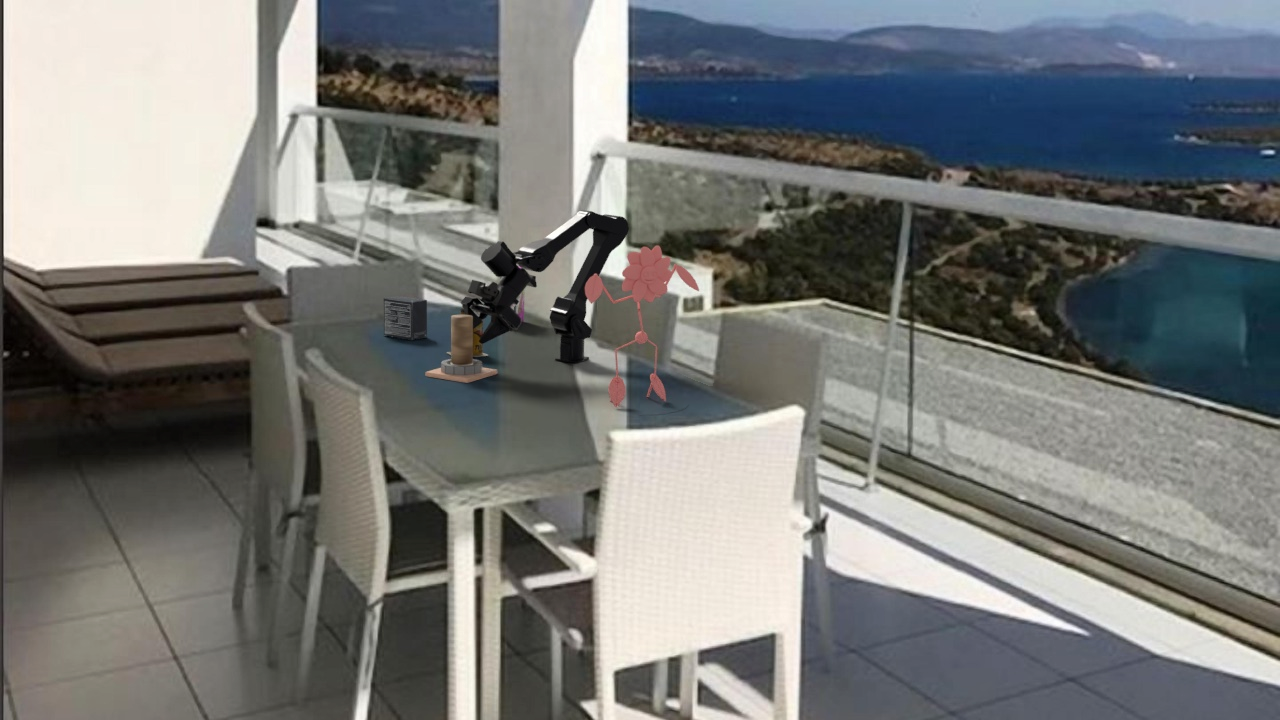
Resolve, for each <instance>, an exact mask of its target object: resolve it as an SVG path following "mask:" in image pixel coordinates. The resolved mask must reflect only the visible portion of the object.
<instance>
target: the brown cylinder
mask: <svg viewBox="0 0 1280 720" xmlns="http://www.w3.org/2000/svg"><path fill="white" fill-rule="evenodd" d="M450 329H451V330H450V333H451V334H450V337H451V339H450V343H451V344H450V352H451V355H450V359H451V365H456V366H467V365H473V359H474V357H473V316H471V315H460V314H453V315H450Z"/></svg>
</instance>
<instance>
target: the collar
mask: <svg viewBox="0 0 1280 720" xmlns="http://www.w3.org/2000/svg"><path fill="white" fill-rule="evenodd" d="M424 374H425V377H429V378H435V379H440V380H446V381H447V380H448V381H451V382H452V381H453V382H460V383H466V384H468V383H471V382H475V381H477V380H481V379H485V378H487V377H491V376H495V375H498V369H495V368H488V367H483V361H482V360H479V359H474V358H473V365H467V366H456V365H451V358H449V359H448V358H447V359H444V360H442V361H441V363H440V367H437V368H435V369H431V370H428V371H425V373H424Z"/></svg>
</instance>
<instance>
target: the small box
mask: <svg viewBox="0 0 1280 720" xmlns="http://www.w3.org/2000/svg"><path fill="white" fill-rule="evenodd" d="M384 335H388V336H393V337H398V338H397V339H400V338H403V339H402V340H406V339H408V341H416V340H420V338H421V339H424V338H425V337H426V338H428V300H427V299H424V298H422V299H421V298H415V297H414V298H413V297H408V296H401V295H399V296H398V295H397V296H389V297H384V298H383V336H384ZM393 337H392V338H393ZM415 339H416V340H415Z"/></svg>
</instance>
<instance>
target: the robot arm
mask: <svg viewBox="0 0 1280 720" xmlns="http://www.w3.org/2000/svg"><path fill="white" fill-rule="evenodd" d="M589 230H592V245H591V247H590V249H589V251H588V253H587V255H586V257H585V259H584V262H583V263H582V265H581V267H580V269H579V272H578V273H577V276H576V278H575V280H574V281H573V284H572V286H571V287H570V290H569V291H568V292H567V294H566V295H565V296H564V297H563V296H562V297H561V296H557V297H556V298H555V300H554V304H553V306H552V307H551V308H550V309H549V311H550V314H549V321H550V324H551V326H552V327H553V331H554V334H555V335H560V343H559V344H560V345H559V346H560V347H559V356H558V357H555V358H554V360H555V361H559V362H567V363H572V364H578V363H581V362H585V361H587V360H590V357H589V356H585V340H586V339H590V338H591V335H592V332H593V329H592V328H591V327H590V325H589V324H588V323H587V322H586V321H585V319H586V317H587V301H588V298H587V297H586V295H585V285H586V282H587V281H588V279H589V278H590V277H592V276H594V274H597V275H598V276H599V277H600V275H601V272H602V270H603V269H604V266H605V265H606V262H607V261H608V258H609V257H610V254H611V253H612V252H613V251H614V250H615V249H616V248H618V247H619V246H620V245H621V244H622V243H623V241H624V240H625V239H626V237H627V236H628V234H629V231H630V226H629V223H628V220H627V219H626V218H625V217H623V216H619V215H614V214H606V213H605V214H600V213H596V212H595V211H592V210H585V209H581V210H579V211H578V212H577V213H576V214H575V215H574V216H573V217H570V219H568V220H567V221H566V222H565V223H564V224H562V225H561V226H558V228H556V229H555V230H553V232H551V233H549V234H548V235H547V236H545V237H544V238H542V239H539V240H535V241H532V242H530V243H527V244H526V245H524V246H522V247H521V246H520V248H519V249H518V250H517V251H513V252H512V251H511V249H510V248H509V247H508V245H507V244H506V243H505V241H502V240H497V242H496V243H495V244H494V243H493V244H492V245H490V246H489V247H488V248H485V249H484V251H482V254H481V256H480V260H481V262H483V264H485V266H486V267H487V269H489V270H490V272H491V273H492V274H493V275H495V277H497V278H500V277H501V276H503V278H502V279H501V281H499V282H498V283H497V282H494V281H493V280H488V281H487V282H484V281H479V280H475V279H471V282H470V285H469V287H468V290H467V293H469V294H473V295H475V296H478V297H479V298H477V297H474V296H471V295H467V296H464V298H463V299H462V300H461V301H460V304H461V308H463V309H464V313H465V315H471V316H473V329H474V328H476V327H477V326H478V325H480V324H481V323H482V322H483V323H484V319H486V318H487V317H488V316H490V322H489V324H488V325H487V327H486V329H485V330H483V334H482V336H481V338H480V340H479V343H480V344H483V345H484V344H485V343H488V342H490V341H491V340H493V339H495V338H497V337H500V336H501V335H504V334H506V333H509V332H512V331H513V330H515V331H517V330H518V329H519V327H520V326H521V325H522V323H521V318H520V317H519V315H518V314H517V313H516V312H515V311H514V310H513V309H512V308H511V306H512V304H515V305H517V304H518V302H519V301H518V300H517V298H518V297H519V295H520V294H521V293H522V291H523V290H524V291H525V289H526V288H527V287H531V288H537V287H538V285H537V280H536V278H537V276H535V275H532V274H530V273H529V272H528V271H531V272H536V273H541V272H544V271H545V270H546V269H547V268H548V267H549V266H550V265H551V264H552V263H553V262H554V259H555V257H556V255H557V254H558V253H559V252H560V251H562V250H563V249H564V248H565V247H567V246H569V245H570V244H571V243H573V241H575V240H576V239H577V238H579V237H581V236H582V235H583V234H585V233H586V232H588V231H589ZM518 266H520V267H521V268H519V267H518ZM482 320H483V321H482Z"/></svg>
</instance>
